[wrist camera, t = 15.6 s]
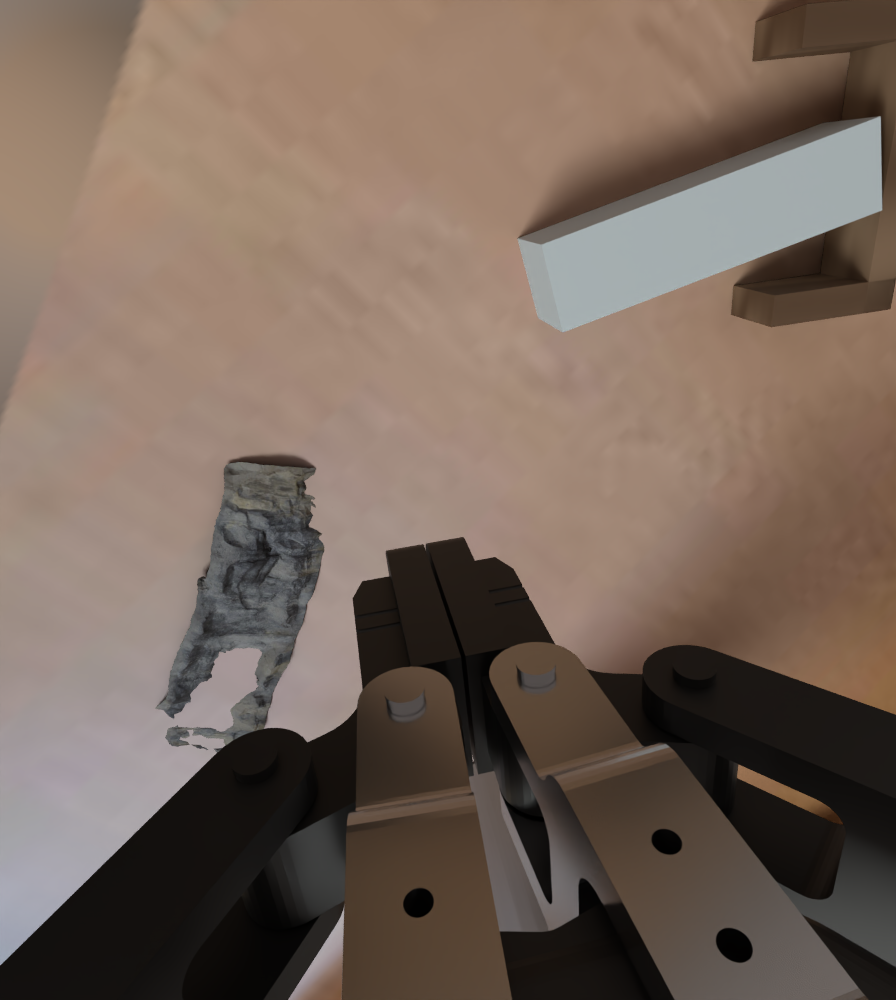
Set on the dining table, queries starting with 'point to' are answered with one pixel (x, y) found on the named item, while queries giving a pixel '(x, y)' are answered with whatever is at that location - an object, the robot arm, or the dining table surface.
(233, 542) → the grey flat forked piece
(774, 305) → the end cap
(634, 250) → the white rectangular bar
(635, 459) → the dining table surface
